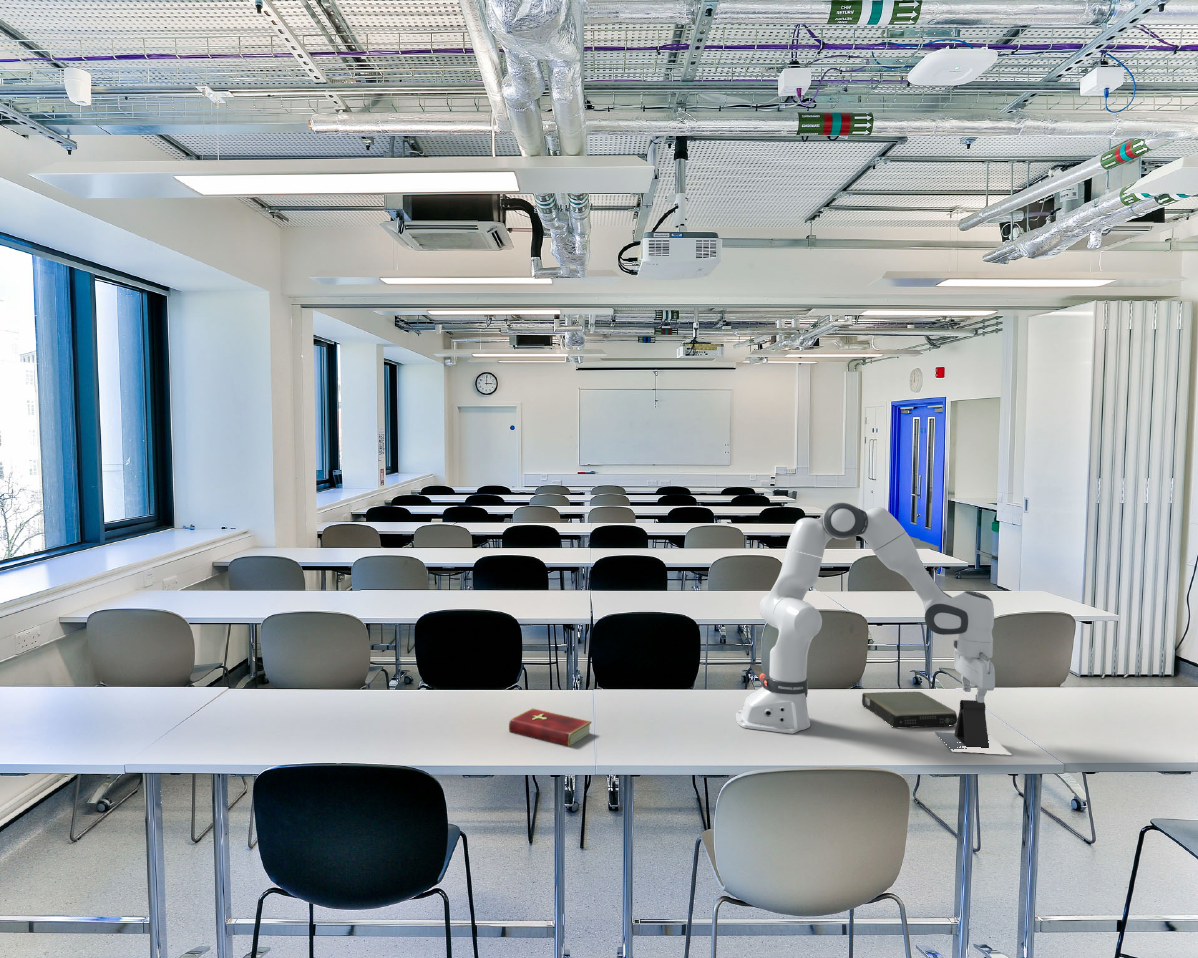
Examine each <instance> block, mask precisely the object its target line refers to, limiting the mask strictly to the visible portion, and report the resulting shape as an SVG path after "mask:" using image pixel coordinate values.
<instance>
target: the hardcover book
mask: <svg viewBox="0 0 1198 958" xmlns="http://www.w3.org/2000/svg"><path fill="white" fill-rule="evenodd" d="M591 724H592V721H590V720H586V719H581V718H576V717H573V716H568V715H564V714H559V713H555V712H551V711H546V710H541V709H538V708H531V709H528V710H526V711H525V712H523V713H521V714H518V715H516V716H514V717H512V718H510V719H509V721H508V732H510V733H512V734H513V733H514V734H518V735H521V736H526V737H529V738H534V739H536V740H537V739H538V740H541V741H545V742H549V743H553V744H557V745H561V746H564V747H569V748H571V746H572V745H573V744H576V743H577V742H578V741H580V740H581V739H583V738H585V737H586V736H588V735H589V734H590V725H591Z"/></svg>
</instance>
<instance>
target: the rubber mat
mask: <svg viewBox="0 0 1198 958" xmlns="http://www.w3.org/2000/svg"><path fill="white" fill-rule="evenodd" d="M935 733H936V734H937V736H938V737H940V739H942V741H943V742H945V744H947V746H948V747H950V749H953V750H954V749H964V748H962V746H965V745H964V744H963V743H962V742H961V741H960V740H959V739H957V738H956V737H955V735H954V734H955V732H946V731H941V732H940V731H934V734H935ZM937 736H936V737H937ZM938 737H937V738H938ZM940 739H939V740H940ZM942 741H941V742H942ZM988 741H989V740H988ZM943 742H942V743H943ZM957 742H958V743H957ZM959 742H961V743H959ZM945 744H944V745H945ZM947 746H946V747H947ZM960 746H961V748H959V747H960ZM957 747H958V748H957ZM965 749H967V748H965Z"/></svg>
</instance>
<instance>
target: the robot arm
mask: <svg viewBox="0 0 1198 958" xmlns="http://www.w3.org/2000/svg"><path fill="white" fill-rule="evenodd" d="M857 536H858V537H860V538H861V539H863V540H864V541H865V542H866V543H867V544H868V546H869V547H870V548H871V550H872V552H873V554H874V555H875V556H876V557H877V559H878V560H879V561H880V562H881V563H882V564H883V565H884V566H885V567H886V568H887V569H888V570H890V571H893V572H895V573H898V574H899V575H901V576H902V577H903V578H904V579H905V580H906V581H907V582H908V583H909V584H910V586H911V587H912V589H913V590H914V591H915V593H916V594H917V595H918V597H919V598H920V600H921V601H922V603H923V607H924V611H925V612H924V621H925V624H926V626H927V628H928V630H930V631H932V632H933V633H935V634H937V635H943V636H947V635H958V639H954V640H953V641H952V647H953V648H954V651H953V665H954V666H953V667H954V669H955V671H956V672H957V673H959V675H960V678H961V679H960V680H961V682H962V690H963V691H964V692H965V693H966V692H967V693H970V692H972V690H971V689H972V685H971V683H972V684H973V685H974V686H976V690H977V694H975V701H978V702H980V703H983V702H984V703H985V697H986V694H987V692H988V691H994V690H995V687H996V671H995V666H994V664H993V662H992V661H991V658H992V657H993V653H994V651H993V649H994V647H993V645H994V637H993V629H994V625H995V608H994V603H993V600H992V599H991V598H990V597H989V596H988V595H986V594H984V593H981V592H977V591H974V590H973V591H970V590H965V591H963V592H962V593H960V594H958V595H955V596H952V595H949V594H948V593H947V592H944V590H943V589H941V588H940V587H939V586H938V584H937V583H936V581H935V580H934V579H933V577H932V576H931V574H930V573H929V572H928V571H927V569H926V568H925V567H924V564H923V562H922V560H921V558H920V554H919V553H918V551H917V548H916V546H915V544H914V543H913V540H912V539H911V537H910V536H909V533H908V532H906V530H905V528H904V527H903V526H902V525H901V524H900V522H899V521H898V519H896V518H895V517H894V516H893V514H891V513H890V511H888V510H887V509H886V508H885V507H881V506H875V507H871V508H869V509H867V510H865V511H864V510H862V509H861V508H859V507H856V506H855V505H852V504H850V503H846V502H837V503H836V502H835V503H833V504H832V505H830V506H828V507H827V508H826V510H825V511H824V512H823V514H822V515H820V517H818V518H813V517H803V518H800V519H798V520H797V521H796V522H795V524H794V527H793V528H792V531H791V533H790V537H789V538H788V541H787V544H786V545H787V546H786V550H785V554H784V557H783V561H782V564H781V568H780V571H779V574H778V576H777V579H776V581H775V582H774V585H773V586H772V588H771V590H770V591H769V592H768V593H767V594H766V595H764V596H763V597H762V598H761V599H760V602H759V606H758V609H759V610H758V611H759V615H760V617H761V618H762V619H763V620H764V621H765V622H766V623H767V625H769V626H771V627H772V628H775V629H777V630H778V634H777V635H778V637H777V639H776V642H775V645H774V646H773V647H772V648H771V649H770V651H769V674H768V675H766V674H765V673H760V675H759V679H760V681H761V683H762V687H760V688H758V689H757V690H756V691H754V692H752V693H750V694H749V695H747V696H746V698H745V700H744V703H743V708H742V709H739V710H738V711H737V712H736V713H735V720H736V721H735V722H737V724H738V725H739V726H741V727H742V728H743V729H751V730H758V731H759V730H760V731H765V732H767V731H768V732H776V733H783V734H796V733H797V732H799V731H804V730H806V729H809V728H810V727H811V724H812V723H811V721H810V716H809V711H808V702H807V701H808V700H807V697H808V693H809V683H808V682H809V681H808V678H807V668H808V653H809V649H810V646H811V643H812V640H813V638H814V637H815V636H816V635H818V634H819V632H820V631H821V629H822V625H823V618H822V614H821V613H820V611H819V610H818V609H817V608H816V607H815V606H813V605H812V604H811V603H809V602H807V601H804V598H805V595H806V594H807V593H808V590H810V588H812V587H813V586H814V585H815V584H817V582H818V579H819V574H820V570H821V565H822V563H823V558H824V554H825V549H826V547H827V544H828V542H829V541H830V540H848V539H850V538H854V537H857Z"/></svg>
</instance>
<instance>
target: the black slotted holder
mask: <svg viewBox="0 0 1198 958" xmlns="http://www.w3.org/2000/svg"><path fill="white" fill-rule="evenodd" d="M986 708H987V707H986V703H985V701H984V702H983V703H980V702H978V701H976V699H975V700H969V699H960V701H959V712H958V715H957V722H956V723H955V728H954V729H955V730H954V733H955V734H954V735H955V737H956V738H957V739H959V740H960V741H961V742H962V743H963V744H964V745H965V746H966V747H981V748H989V743H988V735H989V734H988V726H987V718H986Z"/></svg>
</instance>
